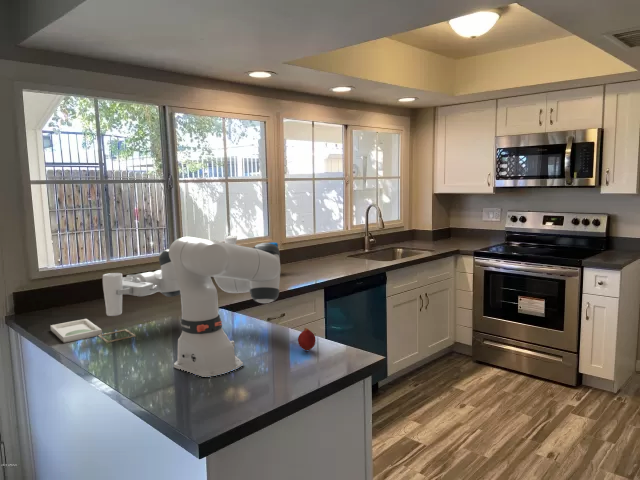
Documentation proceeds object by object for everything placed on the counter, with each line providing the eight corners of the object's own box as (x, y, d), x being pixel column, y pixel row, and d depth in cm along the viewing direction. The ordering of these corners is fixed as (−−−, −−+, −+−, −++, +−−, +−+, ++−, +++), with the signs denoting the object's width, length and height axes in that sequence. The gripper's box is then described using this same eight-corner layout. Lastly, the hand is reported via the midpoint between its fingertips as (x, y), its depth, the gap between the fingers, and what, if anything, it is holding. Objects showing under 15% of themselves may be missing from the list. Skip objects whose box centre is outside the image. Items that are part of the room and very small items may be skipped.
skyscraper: (222, 281, 269) (220, 233, 266) (236, 280, 273) (234, 232, 269) (226, 284, 262) (224, 234, 258) (240, 283, 265) (238, 233, 262)
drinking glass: (102, 317, 170) (100, 276, 168) (105, 313, 176) (104, 273, 175) (123, 316, 172) (121, 275, 170) (125, 311, 178) (123, 272, 177)
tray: (102, 334, 177) (101, 329, 177) (63, 342, 169) (63, 337, 169) (86, 323, 192) (86, 318, 192) (50, 330, 184) (50, 325, 184)
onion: (306, 346, 160) (305, 323, 159) (319, 350, 157) (319, 327, 156) (294, 351, 156) (294, 328, 155) (307, 355, 152) (307, 331, 151)
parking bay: (136, 336, 175) (135, 335, 175) (107, 342, 168) (107, 341, 168) (126, 330, 182) (126, 329, 182) (98, 336, 176) (98, 335, 176)
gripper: (161, 295, 179) (128, 303, 167) (128, 289, 190) (95, 296, 178) (160, 279, 178) (127, 286, 166) (127, 274, 189) (94, 280, 178)
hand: (110, 291), depth 172 cm, fingers closed on drinking glass, 6 cm apart
